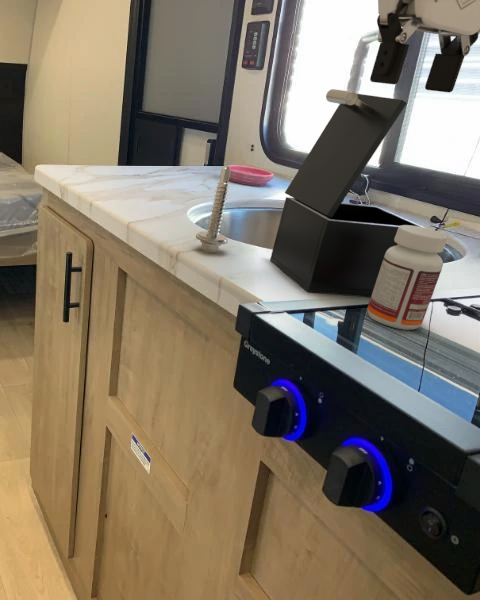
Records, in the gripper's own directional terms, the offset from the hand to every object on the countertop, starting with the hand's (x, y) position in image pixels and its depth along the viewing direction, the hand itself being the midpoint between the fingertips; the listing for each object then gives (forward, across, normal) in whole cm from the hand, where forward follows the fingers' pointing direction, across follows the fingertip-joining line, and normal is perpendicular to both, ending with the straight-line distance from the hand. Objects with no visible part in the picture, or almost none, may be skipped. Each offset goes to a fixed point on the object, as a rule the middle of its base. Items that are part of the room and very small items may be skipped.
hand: (411, 87), depth 68 cm
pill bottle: (+26, +1, -6) cm, 27 cm away
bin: (+26, +6, +7) cm, 28 cm away
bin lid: (+9, +2, +8) cm, 12 cm away
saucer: (+26, +46, +71) cm, 88 cm away
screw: (+26, -6, +21) cm, 34 cm away
